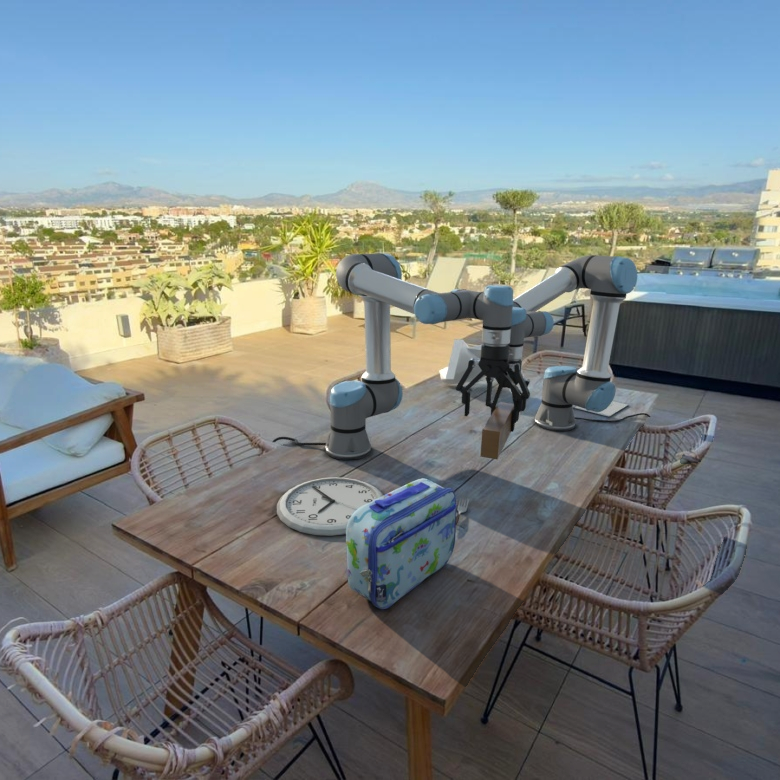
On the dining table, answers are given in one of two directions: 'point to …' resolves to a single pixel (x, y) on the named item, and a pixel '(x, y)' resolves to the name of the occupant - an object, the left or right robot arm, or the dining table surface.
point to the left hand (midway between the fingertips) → (490, 418)
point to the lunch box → (400, 540)
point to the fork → (461, 509)
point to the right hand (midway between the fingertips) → (503, 428)
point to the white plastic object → (462, 363)
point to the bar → (496, 431)
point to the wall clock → (324, 504)
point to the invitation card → (608, 409)
